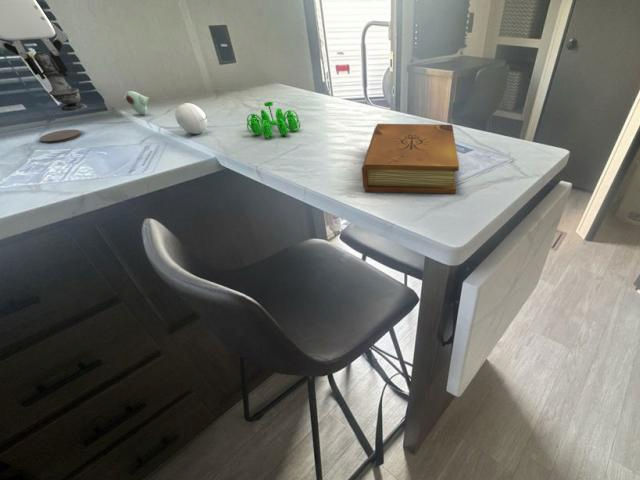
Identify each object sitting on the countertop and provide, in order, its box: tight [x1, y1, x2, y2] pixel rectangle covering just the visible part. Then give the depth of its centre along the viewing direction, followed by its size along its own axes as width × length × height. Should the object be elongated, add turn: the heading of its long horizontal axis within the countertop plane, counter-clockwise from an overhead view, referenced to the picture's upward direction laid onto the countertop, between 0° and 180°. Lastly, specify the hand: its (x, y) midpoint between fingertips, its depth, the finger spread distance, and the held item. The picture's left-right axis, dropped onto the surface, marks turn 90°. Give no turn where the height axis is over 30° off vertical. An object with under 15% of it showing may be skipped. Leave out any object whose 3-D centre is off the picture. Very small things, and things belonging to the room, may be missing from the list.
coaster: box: [39, 128, 82, 144], centre depth 87 cm, size 9×9×1 cm
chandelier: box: [246, 101, 301, 139], centre depth 87 cm, size 15×15×7 cm
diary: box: [361, 123, 460, 195], centre depth 69 cm, size 23×19×6 cm
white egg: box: [174, 102, 208, 135], centre depth 87 cm, size 10×7×7 cm
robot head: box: [123, 90, 150, 116], centre depth 98 cm, size 8×4×7 cm, turn 80°
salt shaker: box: [33, 47, 88, 112], centre depth 75 cm, size 6×6×12 cm
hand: (53, 76), depth 75 cm, fingers closed on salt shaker, 3 cm apart
